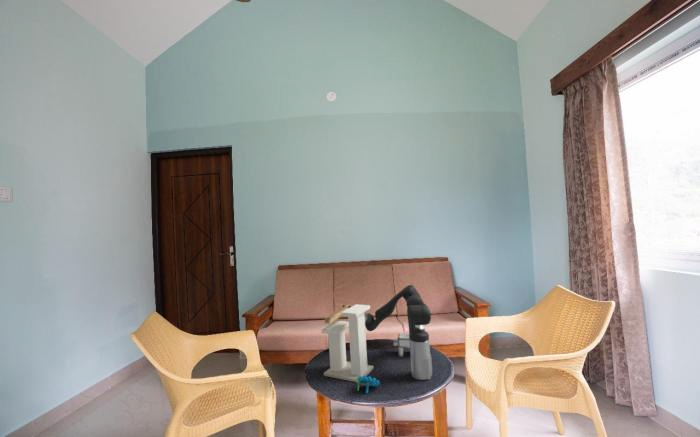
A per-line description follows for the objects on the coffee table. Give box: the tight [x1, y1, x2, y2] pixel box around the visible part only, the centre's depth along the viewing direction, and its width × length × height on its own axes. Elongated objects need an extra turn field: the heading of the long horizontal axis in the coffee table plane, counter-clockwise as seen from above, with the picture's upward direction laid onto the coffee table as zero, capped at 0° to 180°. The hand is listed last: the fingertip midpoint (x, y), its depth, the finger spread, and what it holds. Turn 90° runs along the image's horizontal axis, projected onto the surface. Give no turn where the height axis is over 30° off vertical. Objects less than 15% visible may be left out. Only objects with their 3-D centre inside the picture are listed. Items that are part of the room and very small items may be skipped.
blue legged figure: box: [355, 375, 380, 394], centre depth 135 cm, size 11×6×10 cm
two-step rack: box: [321, 303, 375, 383], centre depth 155 cm, size 20×16×32 cm
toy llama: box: [393, 325, 426, 358], centre depth 172 cm, size 8×18×20 cm, turn 78°
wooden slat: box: [324, 304, 354, 325], centre depth 162 cm, size 3×25×3 cm, turn 152°
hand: (346, 307), depth 168 cm, fingers closed on wooden slat, 3 cm apart
